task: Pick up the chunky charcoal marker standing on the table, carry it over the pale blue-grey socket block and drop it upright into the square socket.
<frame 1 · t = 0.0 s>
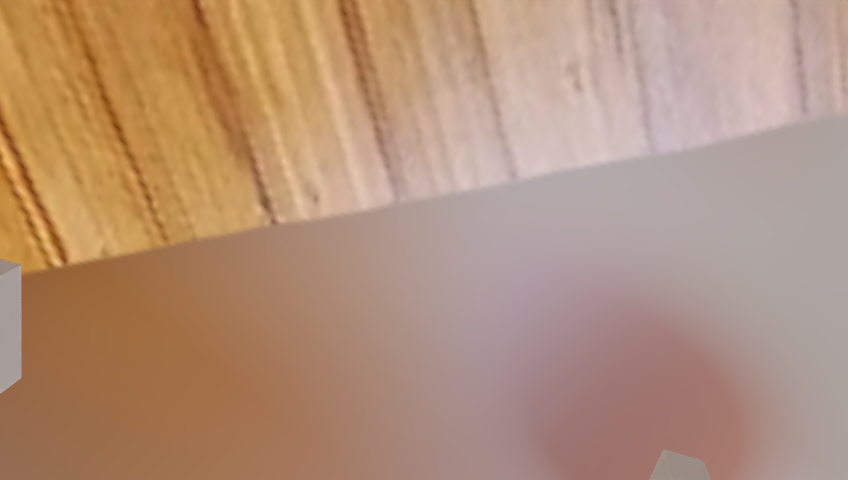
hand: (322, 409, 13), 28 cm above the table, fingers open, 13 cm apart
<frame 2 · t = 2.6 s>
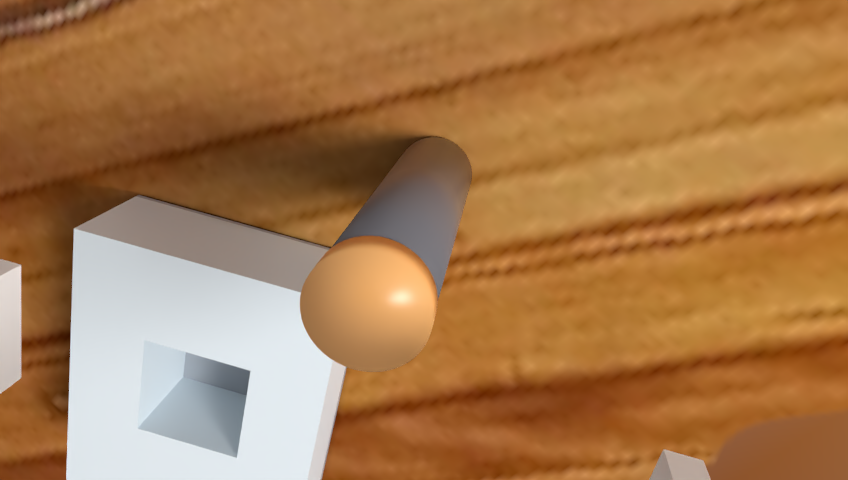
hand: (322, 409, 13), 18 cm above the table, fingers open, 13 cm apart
marker: (434, 173, 30), on the table
socket block: (236, 346, 35), on the table
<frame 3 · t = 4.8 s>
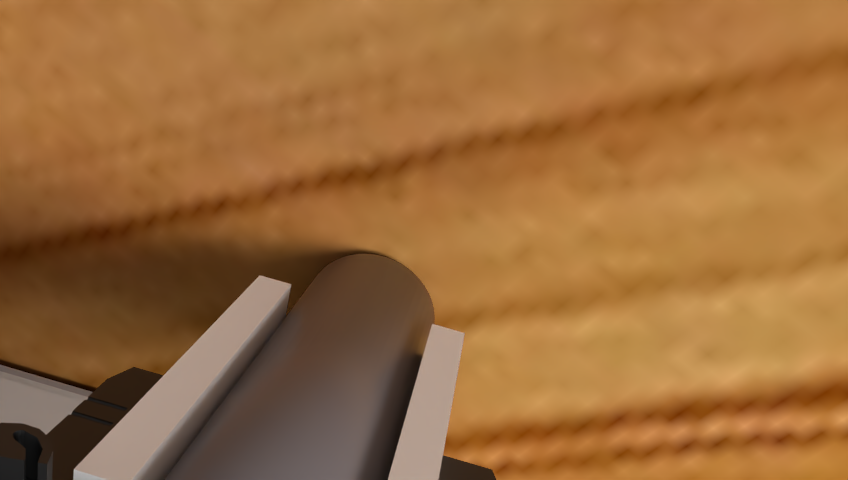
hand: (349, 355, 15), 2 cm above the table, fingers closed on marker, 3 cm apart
marker: (369, 314, 17), on the table, touching gripper
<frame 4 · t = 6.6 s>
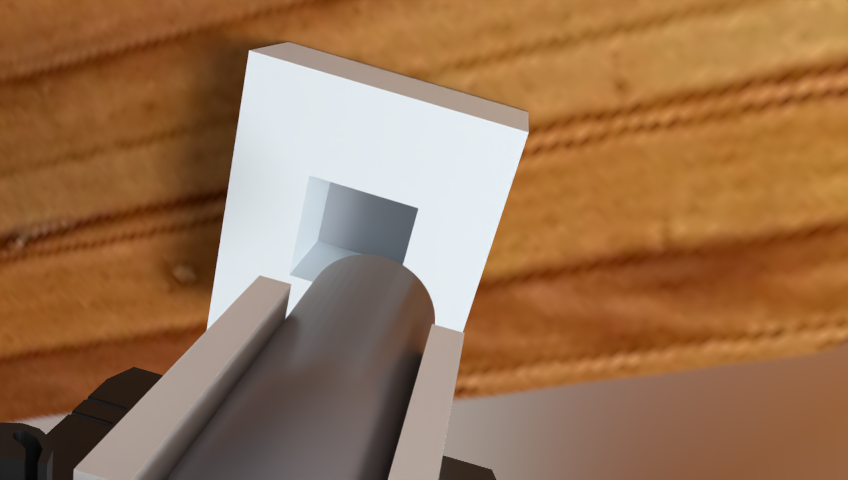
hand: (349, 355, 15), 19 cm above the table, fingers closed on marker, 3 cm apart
marker: (370, 315, 17), point 17 cm above the table, touching gripper
socket block: (375, 208, 34), on the table
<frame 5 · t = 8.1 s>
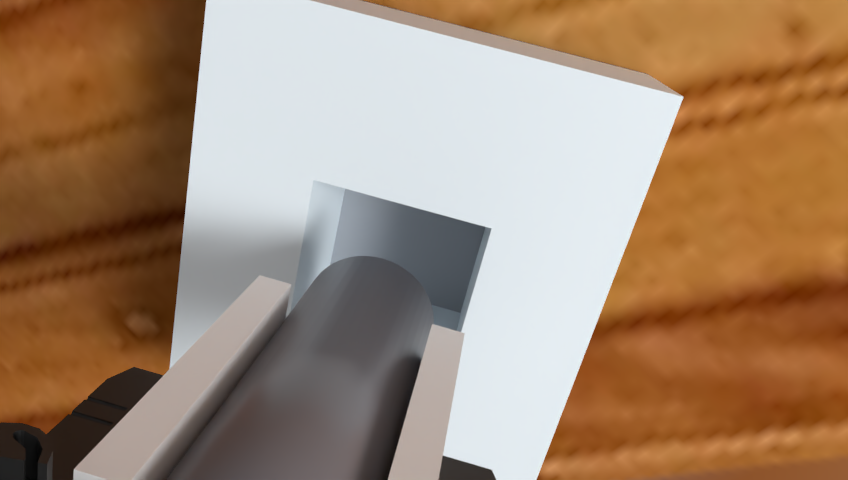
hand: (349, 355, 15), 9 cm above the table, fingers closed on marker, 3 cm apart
marker: (369, 316, 17), point 7 cm above the table, touching gripper
socket block: (411, 227, 23), on the table
when the fingers open (6 cm above the table, at t = 8.9 s): marker drops 2 cm, resting on socket block.
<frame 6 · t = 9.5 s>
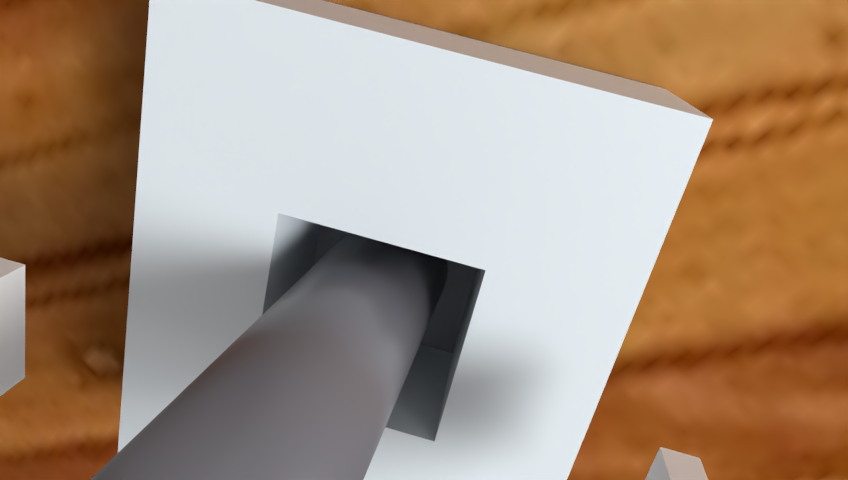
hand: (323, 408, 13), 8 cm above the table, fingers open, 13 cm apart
marker: (393, 266, 20), point 1 cm above the table, touching socket block
socket block: (397, 257, 21), on the table
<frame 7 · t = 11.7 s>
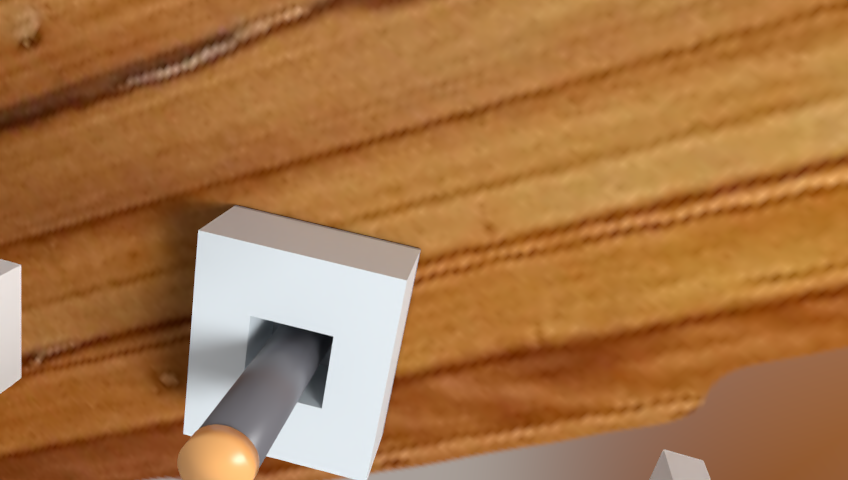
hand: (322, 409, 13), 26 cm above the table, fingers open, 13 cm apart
marker: (310, 328, 42), point 1 cm above the table, touching socket block
socket block: (312, 324, 43), on the table
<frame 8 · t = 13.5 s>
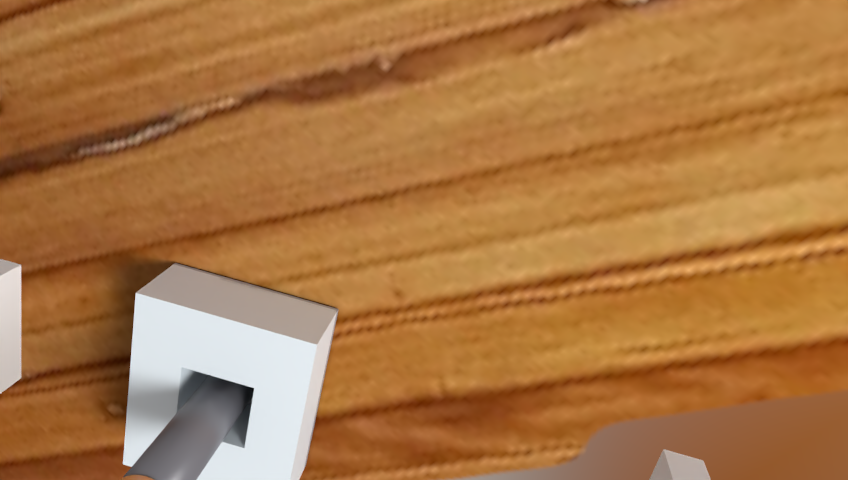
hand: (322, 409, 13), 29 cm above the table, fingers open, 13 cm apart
marker: (240, 372, 47), point 1 cm above the table, touching socket block
socket block: (243, 368, 48), on the table
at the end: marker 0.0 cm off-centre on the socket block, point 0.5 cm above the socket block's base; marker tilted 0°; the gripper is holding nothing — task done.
